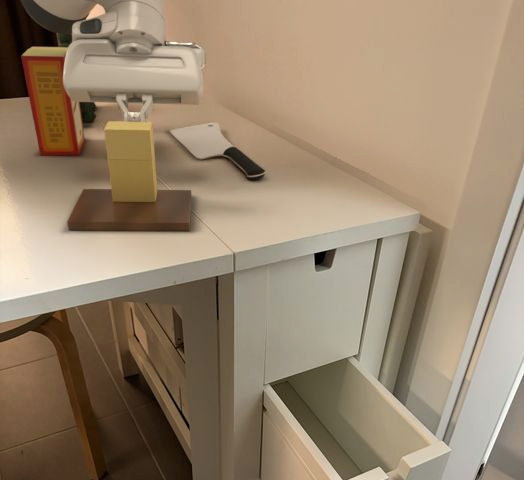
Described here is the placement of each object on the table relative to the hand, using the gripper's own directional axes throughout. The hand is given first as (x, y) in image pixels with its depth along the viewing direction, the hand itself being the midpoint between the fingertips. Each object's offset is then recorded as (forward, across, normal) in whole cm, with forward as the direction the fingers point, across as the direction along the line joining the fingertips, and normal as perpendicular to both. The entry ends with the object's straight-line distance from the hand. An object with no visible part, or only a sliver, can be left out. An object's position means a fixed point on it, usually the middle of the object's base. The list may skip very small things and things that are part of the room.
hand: (134, 126), depth 81 cm
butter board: (+13, 0, 0) cm, 13 cm away
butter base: (+10, 0, -1) cm, 10 cm away
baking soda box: (-8, +16, -21) cm, 28 cm away
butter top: (+6, 0, +3) cm, 7 cm away
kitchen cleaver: (-6, -12, -20) cm, 24 cm away
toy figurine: (-23, +17, -37) cm, 47 cm away
